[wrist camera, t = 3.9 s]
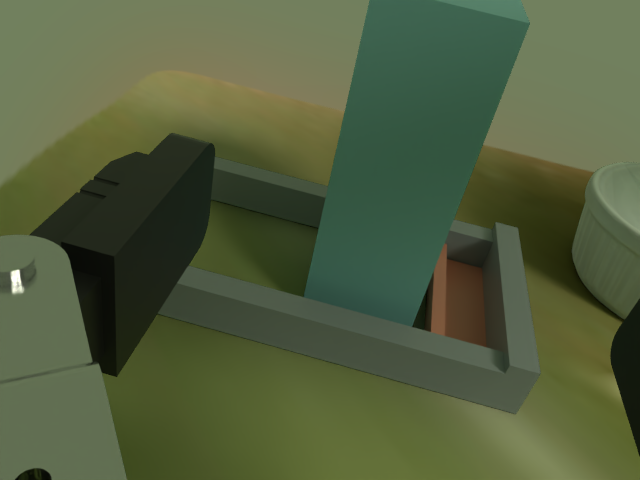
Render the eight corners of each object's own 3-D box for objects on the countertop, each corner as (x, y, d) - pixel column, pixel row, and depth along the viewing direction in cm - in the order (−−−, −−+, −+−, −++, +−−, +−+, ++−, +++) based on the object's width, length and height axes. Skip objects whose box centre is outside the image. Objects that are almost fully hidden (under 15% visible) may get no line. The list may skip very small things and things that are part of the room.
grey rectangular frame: (500, 264, 32) (518, 227, 30) (515, 414, 24) (540, 373, 22) (171, 176, 33) (172, 137, 32) (72, 289, 25) (68, 243, 23)
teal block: (414, 271, 30) (516, -10, 22) (407, 337, 26) (529, 23, 18) (322, 246, 30) (388, -41, 22) (300, 307, 26) (372, -15, 18)
